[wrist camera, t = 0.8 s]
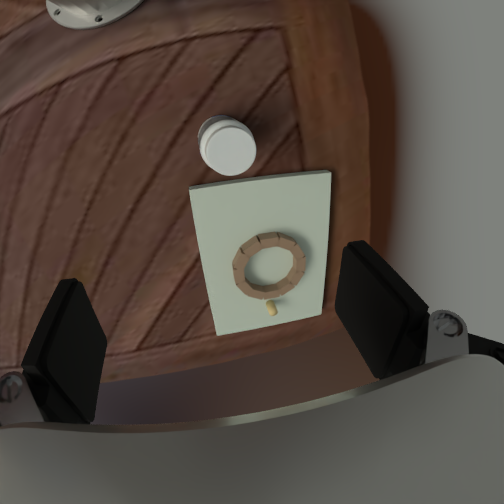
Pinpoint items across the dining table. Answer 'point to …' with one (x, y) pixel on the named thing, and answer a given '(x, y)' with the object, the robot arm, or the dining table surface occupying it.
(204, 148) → the pill bottle
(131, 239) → the dining table surface
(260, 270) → the socket board
